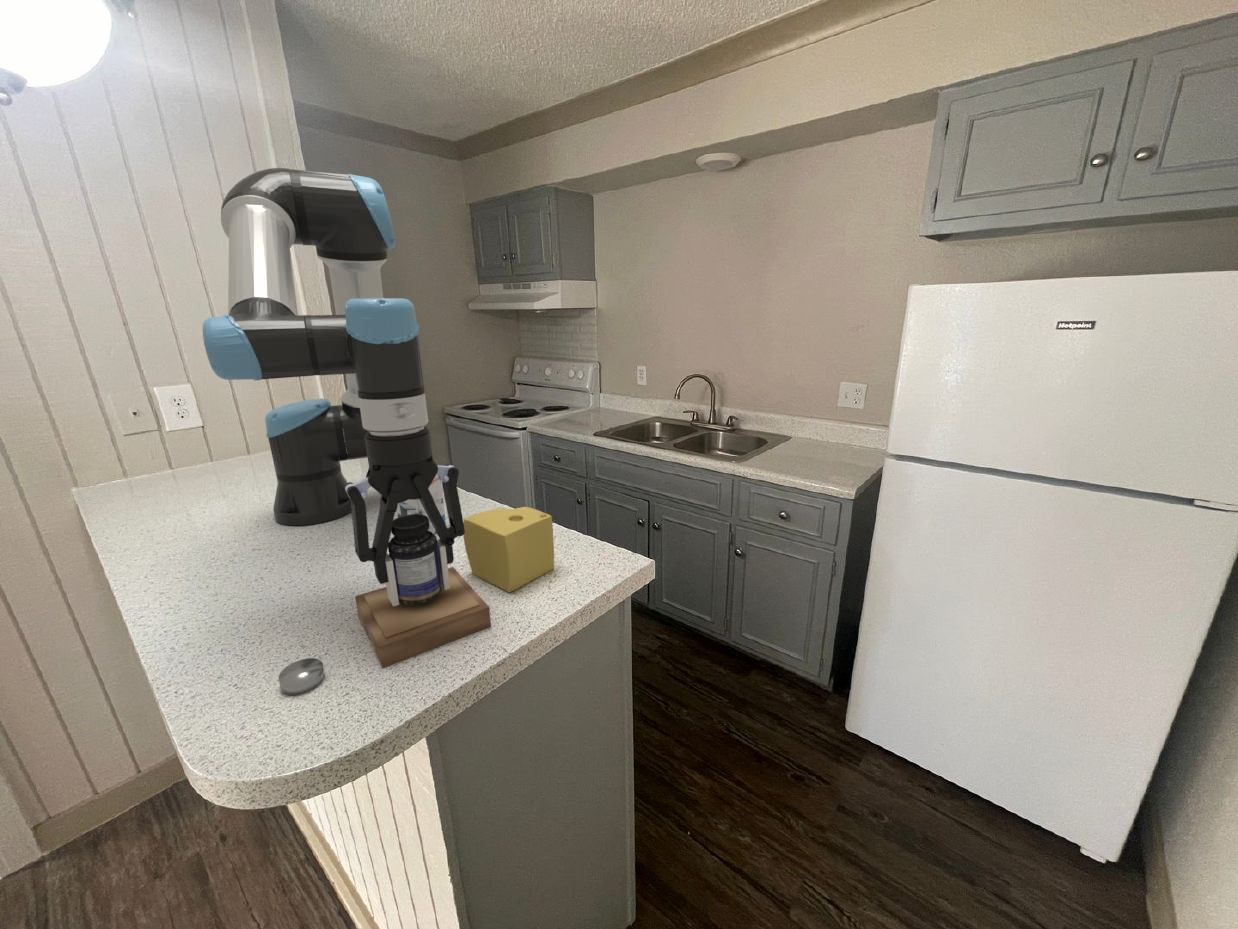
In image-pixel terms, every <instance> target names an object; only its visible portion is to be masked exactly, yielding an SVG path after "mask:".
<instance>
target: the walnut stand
mask: <svg viewBox="0 0 1238 929" xmlns="http://www.w3.org/2000/svg"><path fill="white" fill-rule="evenodd" d="M448 574H449V583H450V588H449V589H446V590H444V588H443V587H442V591H441V592H440V594H439V595H438V596H437V597H436V598H435V599H433V600H431V601H429V602H427V603H423V604H419V605H405V604H402V603H400V602H399V605H397V606H394V607H393V605H392V604H391V602H390V600H389V598H388V594H387V588H386V586H384V587H382V588H378V589H375V590H372V591H367V592H365V593H361V594H358V595H355V596H354V598H355V604H356V609H357V610H356V611H357V614H358V617H359V619H360V621H361V624H362V627H363V629H364V630H365V632H366V635H367V637H368V640H369V642H370V644H371V646H372V648H373V650H374V653H375V654H376V657H377V660H378V661H379V664H380V666H381V668H386V667H388V666H390V665H394V664H395V663H398V662H402V661H403V660H406V659H409V658H411V657H414V656H417V655H419V654H421V653H424V652H427V651H431V650H433V649H436V648H438V647H440V646H443V645H446V644H448V643H451V642H453V641H456V640H459V639H461V638H464V637H466V636H469V635H471V634H474V633H477V632H480V631H482V630H485V629H488V628H490V627H492V622H491V613H490V606H489V605H488V604H487V603H486V602H485V601H484V599H483V598H482V597H481V596H480V595H479V594H478V593H477V591H476V590H474V589H473V587H472V586H471V585H470V584H469V583H468V582H467V581H466V580H465V579H464V577H463V576H462V575H461V573H459V572H458V571H457V570H456V568H455V567H454V566H452V567H448Z"/></svg>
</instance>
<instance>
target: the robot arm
mask: <svg viewBox="0 0 1238 929" xmlns="http://www.w3.org/2000/svg"><path fill="white" fill-rule="evenodd" d="M385 196H386V195H385V194H384V191H383V188H382V187H381V185H380V183H379V182H377V180H375V179H374V178H372V177H367V176H362V175H355V174H351V173H338V172H337V173H336V172H327V171H326V172H325V171H324V172H323V171H315V170H313V171H312V170H304V169H293V168H292V169H290V168H285V167H273V168H266V169H262V170H258V171H255V172H254V173H251V174H248V175H247V176H246V177H244V178H242V179H241V180H239V181H238V182H237V183H236V184H234V185H233V186H232V188H231V189H230V190H229V191H228V192H227V193H226V196H225V197H224V199H223V201H222V204H221V208H220V209H221V210H220V222H221V226H222V230H223V231H224V234H225V235H226V237H227V238H228V294H227V295H228V297H227V298H228V300H227V301H228V302H227V304H228V305H227V314H223V315H221V316H211V317H208V318H206V319H205V320H204V321H203V323H202V339H203V344H204V348H205V349H204V350H205V353H206V355H207V359H208V362H209V365H210V367H211V370H212V371H213V372H214V374H215V375H216V376H217V377H219V378H220V379H221V380H222V379H223V380H228V381H229V380H230V381H231V380H253V381H261V380H270V379H271V380H274V379H283V378H285V379H286V378H287V379H288V378H298V377H301V378H302V377H311V376H329V375H330V376H331V375H332V376H333V375H345V379H346V386H347V389H346V391H345V392H344V393H343V394H342V395H341V396H340V400H341V404H339V405H332V403H331V402H330V400H328V399H326V398H317V399H314V398H313V399H307V400H305V399H304V400H301V401H296V402H293V403H288V404H284V405H281V406H278V407H276V408H273V409H271V410H269V412H267V414H266V416H265V417H264V420H265V421H264V422H265V428H266V429H265V430H266V434H265V435H266V438H268V442H269V447H270V452H271V457H272V460H273V466H274V471H275V476H276V481H277V485H276V491H275V497H274V502H273V503H274V504H273V507H272V508H273V509H272V510H273V515H274V520H275V522H276V523H278V524H281V525H283V526H284V525H285V526H308V525H315V524H316V525H317V524H321V523H325V522H329V521H333V520H336V519H339V518H341V517H344V516H346V515H348V514H350V513H351V519H352V529H353V539H354V551H355V554H356V556H357V558H358V560H359V561H360V562H362V563H367V562H373V568H374V572H375V577H376V579H377V581H378V582H379V584H380V585H382V584H385V587H386V588H387V594H388V598H389V600H390V602H391V604H392V605H393V607H394V606H397V605H399V600H398V593H397V586H396V580H395V573H394V566H393V560H392V559H391V558H390V556H389V552H388V544H389V542H390V540H391V534H392V533H391V529H392V524H393V520H394V519H395V514H396V513H397V506H398V503H402V502H404V501H407V500H416V499H419V500H420V502H421V504H422V506H423V508H424V509H425V511H426V513H427V515H428V517H429V519H430V521H431V523H432V525H433V527H434V529H435V531H436V533H435V534H437V536H438V538H437V545H438V553H439V562H440V570H441V579H442V587H443V588H444V590H446V589H449V588H450V583H449V574H448V568H449V566H448V565H450V564H453V563H454V561H455V558H454V557H455V556H454V551H453V550H454V549H453V546H454V544H455V539H456V538H458V537H462V536H463V537H464V533H465V529H464V519H463V513H462V508H461V507H462V506H461V503H460V497H459V490H458V486H457V484H458V479H459V474H460V472H459V469H458V468H457V467H455V466H454V465H452V464H451V463H447V464H445V465H440V464H439V465H438V464H437V463H436V461H435V460H434V458H433V448H432V439H431V432H430V429H429V428H428V427H427V424H428V423H429V416H428V408H427V407H428V406H427V399H426V398H427V397H426V392H425V390H426V389H425V385H424V376H423V367H422V356H421V348H420V346H421V345H420V339H419V333H420V326H419V324H418V322H417V316H416V309H415V306H414V303H413V302H412V301H410V300H409V299H407V298H402V297H400V298H397V297H395V298H393V297H392V298H391V297H390V298H386V297H384V292H383V283H382V275H381V268H382V266H383V265H384V264H385V263H386V262H387V261H388V251H391V250H393V249H395V246H396V241H395V233H394V227H393V222H392V218H391V214H390V210H389V206H388V203H387V200H386V197H385ZM294 245H302V246H314V247H315V250H316V251H315V252H316V256H317V258H319V260H321V261H322V262H323V263H324V264H325V265H326V266H327V267H328V272H329V278H330V284H331V292H332V296H333V297H332V298H333V303H334V308H335V310H334V311H335V314H318V315H316V314H315V315H311V314H302V315H299V312H298V304H297V296H296V286H295V277H294V270H293V262H292V254H291V248H292V246H294ZM366 458H367V461H368V462H367V463H368V471H367V473H366V474H365V478H362V479H360V480H358V481H356V482H350V481H347V479H346V478H345V476H344V474H343V471H342V468H341V467H342V466H341V462H342V461H343V462H344V461H351V460H358V459H366ZM436 474H438V477H439V479H440V480H441V482H442V492H443V498H444V501H445V502H444V503H445V507H446V513H447V517H448V523H449V527H447V524H445V522H446V521H445V522H444V520H443V518H442V516H441V514H440V512H439V510H438V508H437V506H436V504H435V502H434V499H433V497H432V495H431V493H430V491H429V489H428V488H429V487H430V485H431V483H432V481H433V480H434V478H435V476H436ZM371 487H372V488H373V489H374V490H375V491H376V492H377V493H379V495H380V498H379V499H380V500H379V510H378V511H379V512H378V516H377V520H376V526H375V531H374V535H373V541H372V544H371V545H372V546H371V547H370V542H369V540H370V539H369V530H368V516H367V507H366V506H367V504H366V502H365V500H366V498H368V496H369V493H368V490H369V489H370V488H371Z"/></svg>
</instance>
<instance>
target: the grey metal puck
mask: <svg viewBox="0 0 1238 929" xmlns="http://www.w3.org/2000/svg"><path fill="white" fill-rule="evenodd" d="M325 673H326V672H325V669H324V664H323V661H322V660H321V659H318V658H314V657H312V658H311V657H310V658H304V659H303V658H302V659H300V660H297V661H295V662H292V663H291V664H289V665H287V666H286V667H284V668H283V669H282V670H281V672H280V673H279V675H278V681H279V685H280V689H281V692H282V694H284V695H286V696H290V697H291V696H292V697H294V696H296V697H297V696H299V695H300V696H301V695H304V694H307V693H309V692H311V691H313V690H315V689H317V688H318V687H319V686H321V684H322V683H323V682H324V680H325V679H326V674H325Z"/></svg>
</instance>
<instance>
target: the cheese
mask: <svg viewBox="0 0 1238 929" xmlns="http://www.w3.org/2000/svg"><path fill="white" fill-rule="evenodd" d="M463 523H464V529H465V533H464V535H463V544H464V549H465V553H466V556H467V559H468V563H469V566H470V570H471V573H472V575H474V576H476V577H478V578H480V579H482V580H484V581H485V582H487V583H490V584H491V585H493V586H496V587H498V588H500V589H501V590H504V591H506V592H507V593H511V592H513V591H515V590H518V589H519V588H521V587H523V586H524V585H527V584H528V583H530V582H531V581H533V580H535V579H537V578H538V577H540V576H543V575H545V574H547V573H548V572H550V571H553V570H554V568H555V546H554V545H555V542H554V527H553V526H554V525H553V524H554V523H553V516H552V515H550V514H548V513H545V512H543V511H540V509H539V510H538V509H535V508H532V507H529V506H522V507H517V508H510V509H509V508H504V507H498V508H493V509H490V510H484V511H481V512H478V513H474V514H472V515H469V516H466V517H465V518H464V519H463Z"/></svg>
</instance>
